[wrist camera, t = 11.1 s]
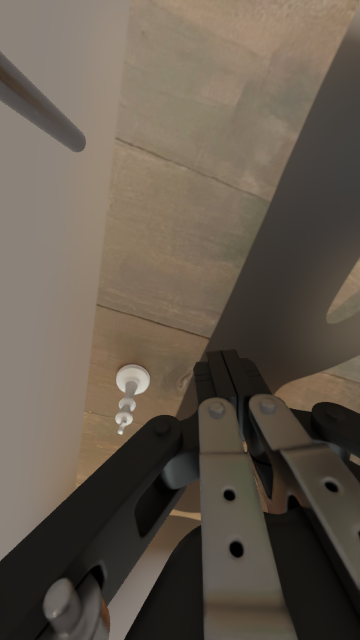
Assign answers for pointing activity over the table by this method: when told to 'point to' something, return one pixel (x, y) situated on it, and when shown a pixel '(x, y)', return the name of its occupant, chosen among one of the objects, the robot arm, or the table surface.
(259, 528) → the robot arm
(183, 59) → the table surface
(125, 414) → the chess piece
